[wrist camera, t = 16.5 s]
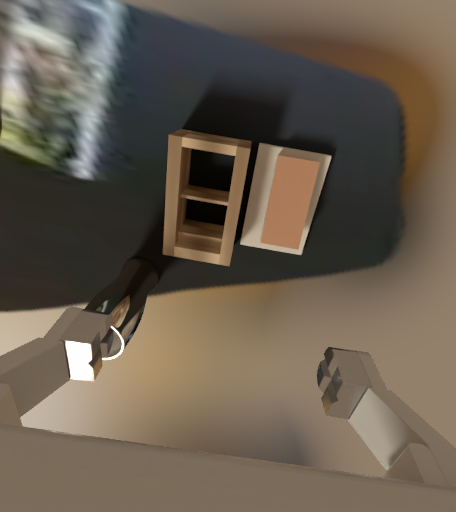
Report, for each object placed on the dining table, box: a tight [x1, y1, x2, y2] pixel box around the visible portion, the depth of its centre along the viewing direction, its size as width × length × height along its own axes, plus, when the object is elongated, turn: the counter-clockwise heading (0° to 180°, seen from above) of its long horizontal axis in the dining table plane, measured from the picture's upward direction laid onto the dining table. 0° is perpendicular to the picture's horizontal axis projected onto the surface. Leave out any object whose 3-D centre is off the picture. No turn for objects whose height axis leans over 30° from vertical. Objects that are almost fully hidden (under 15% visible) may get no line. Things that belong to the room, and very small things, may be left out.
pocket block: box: [163, 129, 252, 266], centre depth 38 cm, size 9×15×6 cm, turn 171°
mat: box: [240, 143, 332, 255], centre depth 40 cm, size 9×14×1 cm, turn 171°
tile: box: [260, 155, 320, 250], centre depth 38 cm, size 5×11×3 cm, turn 171°
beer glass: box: [85, 258, 159, 360], centre depth 42 cm, size 7×7×15 cm
